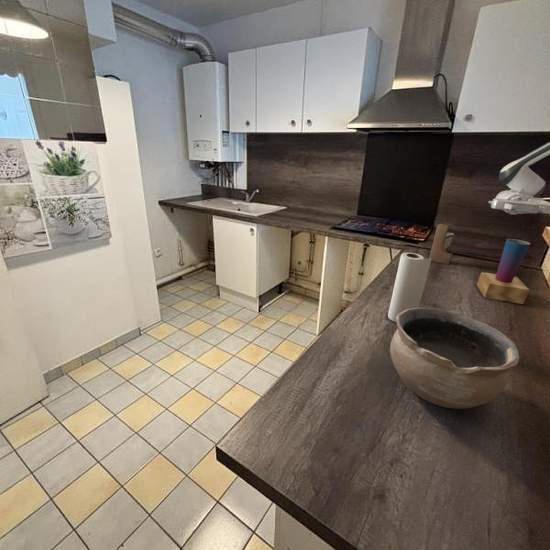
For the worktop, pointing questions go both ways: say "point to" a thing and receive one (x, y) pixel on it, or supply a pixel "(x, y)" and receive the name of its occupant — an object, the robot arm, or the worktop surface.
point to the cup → (511, 259)
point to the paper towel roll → (408, 283)
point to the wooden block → (440, 246)
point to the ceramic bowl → (451, 357)
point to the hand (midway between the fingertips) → (527, 208)
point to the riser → (502, 289)
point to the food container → (448, 241)
